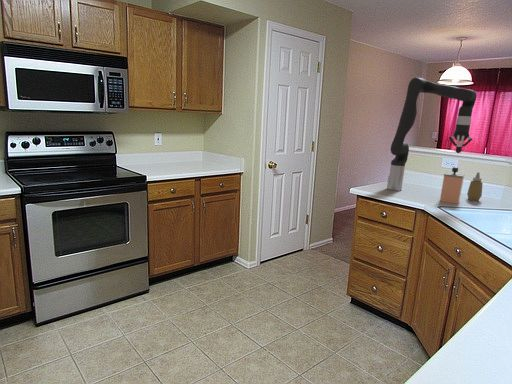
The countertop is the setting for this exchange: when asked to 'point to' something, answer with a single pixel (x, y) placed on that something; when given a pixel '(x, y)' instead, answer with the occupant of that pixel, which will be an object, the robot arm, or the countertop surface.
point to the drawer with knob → (454, 173)
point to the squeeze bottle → (475, 188)
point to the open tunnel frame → (451, 189)
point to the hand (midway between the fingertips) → (458, 153)
